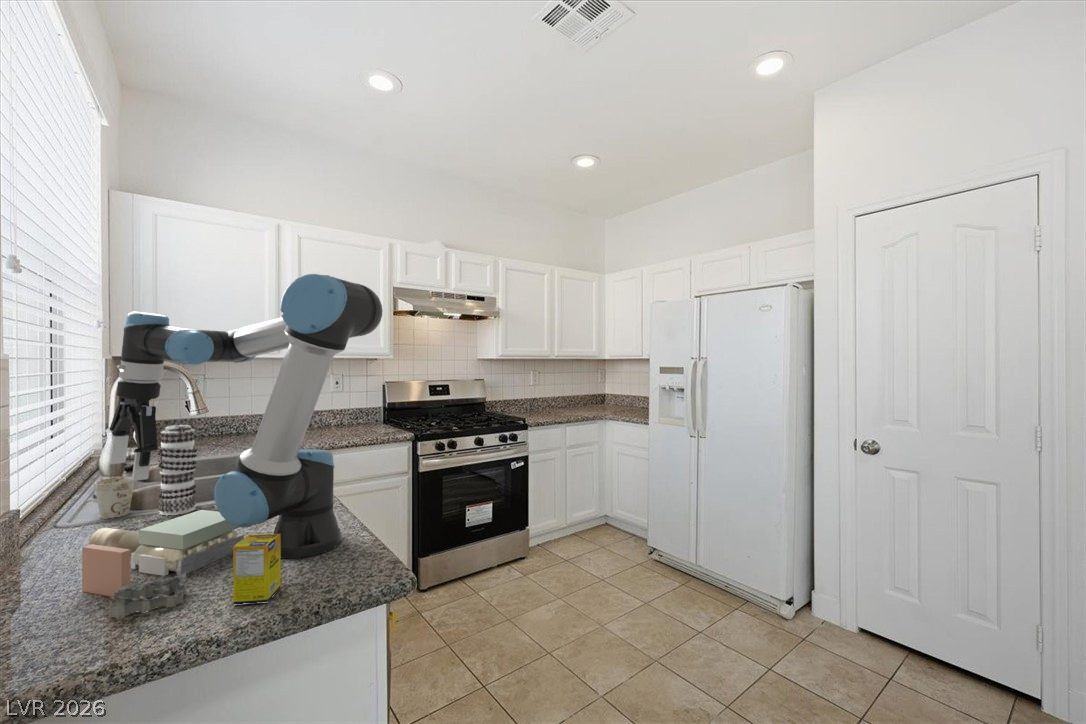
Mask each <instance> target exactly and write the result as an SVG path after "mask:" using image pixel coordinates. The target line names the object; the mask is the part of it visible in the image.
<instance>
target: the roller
mask: <svg viewBox="0 0 1086 724" xmlns="http://www.w3.org/2000/svg"><path fill="white" fill-rule="evenodd" d="M91 544H94V545H101V546H108V547H116V548H123V549H130V554H131V553H134V552H135V551H136V549H137V548H138V547H139V546H140V545H141V544H139V531H134V530H127V529H119V528H110V527H102V528H99V529H97V530H96V531H94V532H93V533H92V535H91V536H90V538H89V542H88V545H91Z"/></svg>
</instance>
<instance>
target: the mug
mask: <svg viewBox="0 0 1086 724" xmlns="http://www.w3.org/2000/svg"><path fill="white" fill-rule="evenodd" d="M134 485H135V481H133V480H132V476H118V477H111V478H105V479H100V480H98V481H95V482H94V489H95V494H96V501H97V506H98V511H99V516H100V518H101V519H102V520H106V519H105V518H111V519H115V518H114V517H118V518H122V517H124V516H128V515H129V513H130V510H131V505H132V497H133V491H134ZM121 516H122V517H121Z"/></svg>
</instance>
